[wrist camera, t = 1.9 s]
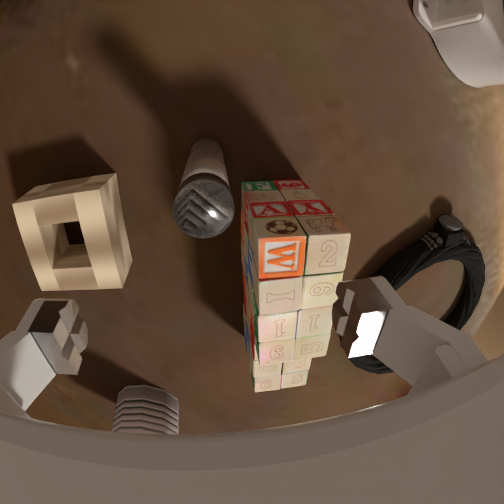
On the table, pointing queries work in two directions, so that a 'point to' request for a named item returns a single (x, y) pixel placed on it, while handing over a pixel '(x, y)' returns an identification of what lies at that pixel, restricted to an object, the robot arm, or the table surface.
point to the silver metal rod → (204, 193)
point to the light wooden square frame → (93, 229)
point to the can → (146, 411)
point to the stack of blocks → (288, 279)
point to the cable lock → (424, 255)
